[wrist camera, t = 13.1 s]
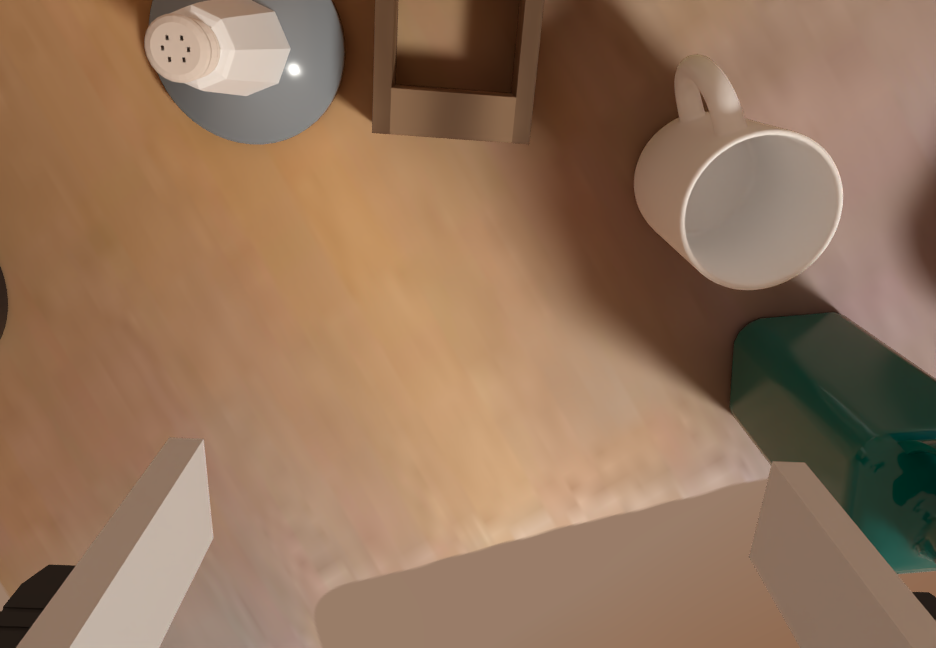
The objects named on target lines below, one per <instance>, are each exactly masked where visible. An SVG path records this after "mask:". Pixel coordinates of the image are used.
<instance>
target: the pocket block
mask: <svg viewBox="0 0 936 648" xmlns="http://www.w3.org/2000/svg"><path fill="white" fill-rule="evenodd" d="M543 8H544V0H520V1H519V12H518V23H517V34H516V44H515V55H514V66H513V77H512V88H511V93H502V92H489V91H476V90H463V89H450V88H437V87H424V86H411V85H398V84H395V83H396V54H397V25H398V0H375V31H374V74H373V116H372V133H381V134H394V135H408V136H422V137H436V138H449V139H463V140H477V141H490V142H504V143H518V144H529V142H530V132H531V122H532V113H533V103H534V94H535V84H536V75H537V65H538V56H539V46H540V36H541V27H542V17H543Z"/></svg>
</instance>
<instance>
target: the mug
mask: <svg viewBox="0 0 936 648" xmlns="http://www.w3.org/2000/svg"><path fill="white" fill-rule="evenodd" d="M674 90H675V98H676V104H677V110H678V115H679V118H677V119H675V120H673V121H671V122H670V123H668V124H666V125H665V126H664V127H662V128H661V129H660V130H659V131H658V132H657V133H656V134H655V135H654V136H653V137H652V138H651V139H650V140H649V142H648V143H647V144H646V146H645V148H644V149H643V151H642V153H641V155H640V157H639V160H638V163H637V166H636V170H635V175H634V193H635V198H636V202H637V205H638V208H639V210H640V212H641V214H642V216H643V217H644V219H645V220H646V221H647V223H648V224H649V225H650V226H651V227H652V228H653V230H654V231H655V232H656V233H658V234H659V235H660V236H661V237H662V238H663V239H664V240H665V241H666V242H667V243H668V244H669V245H671V246H672V247H673V248H674V249H675V250H676V251H677V252H678V253H679V254H680V255H681V256H683V257H684V258H685V259H686V260H687V261H688V262H689V263H690V264H691V265H692V266H693V267H694V268H696V269H697V270H698V271H699V272H700V273H701V274H702V275H704V276H705V277H706V278H708V279H709V280H711V281H713V282H715V283H716V284H719V285H721V286H724V287H728V288H732V289H738V290H758V289H765V288H769V287H773V286H776V285H779V284H781V283H784V282H786V281H788V280H790V279H792V278H794V277H796V276H797V275H799V274H800V273H801V272H803V271H804V270H806V269H807V268H808V267H809V266H810V265H812V264H813V263H814V262H815V261H816V259H817V258H818V257H819V256H820V255H821V254H822V253H823V251H824V250H825V249H826V247H827V246H828V244H829V243H830V241H831V239H832V238H833V235H834V233H835V231H836V229H837V226H838V223H839V220H840V217H841V212H842V206H843V189H842V183H841V178H840V175H839V172H838V169H837V167H836V165H835V163H834V161H833V160H832V158H831V156H830V155H829V154H828V153H827V151H826V150H825V149H824V148H823V147H822V146H820V145H819V144H818V143H817V142H816V141H814V140H812V139H811V138H809V137H807V136H805V135H803V134H801V133H798V132H794V131H791V130H787V129H783V128H779V127H776V126H772V125H768V124H764V123H760V122H757V121H753V120H749V119H745V116H744V113H743V110H742V107H741V105H740V102H739V100H738V97H737V95H736V93H735V91H734V89H733V86H732V85H731V83H730V81H729V79H728V78H727V76H726V75H725V73H724V72H723V71H722V70H721V68H720V67H719V66H718V65H717V64H716V63H714V62H713V61H712V60H711V59H710V58H708V57H706V56H702V55H698V54H695V55H690V56H687V57H686V58H685V59H683V60H682V61H681V62H680V64H679V65H678V67H677V70H676V74H675V80H674ZM700 92H701V94H702V96H703V98H704V100H705V102H706V104H707V107H708V110H709V112H705V111H704V108H703V104H702V99H701V95H700Z"/></svg>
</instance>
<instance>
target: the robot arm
mask: <svg viewBox="0 0 936 648" xmlns="http://www.w3.org/2000/svg"><path fill="white" fill-rule="evenodd" d="M7 312H8V298H7V289H6V284H5V280H4V276H3V273H2V270H1V267H0V339H1V336H2V334H3V331H4V328H5V324H6V320H7ZM212 539H213V530H212V519H211V509H210V499H209V489H208V479H207V468H206V458H205V448H204V439H194V438H169V439H168V440H167V442H166V443H165V444H164V446H163V447H162V448H161V450H160V451H159V453H158V454H157V455H156V457H155V458H154V459H153V461H152V462H151V464H150V465H149V466H148V468H147V469H146V470H145V472H144V473H143V474H142V476H141V477H140V479H139V480H138V481H137V483H136V484H135V485H134V487H133V488H132V490H131V491H130V492H129V494H128V495H127V496H126V498H125V499H124V500H123V502H122V503H121V505H120V506H119V507H118V509H117V510H116V511H115V513H114V514H113V515H112V517H111V518H110V520H109V521H108V522H107V524H106V525H105V526H104V528H103V529H102V531H101V532H100V533H99V535H98V536H97V537H96V539H95V540H94V541H93V543H92V544H91V546H90V547H89V548H88V550H87V551H86V552H85V554H84V555H83V557H82V558H81V559H80V561H79V562H78V563H77V565H76V566H71V565H48V566H46V567H45V568H43V569H42V570H41V571H39V572H38V573H36V574H35V575H34V576H32V577H31V578H29V579H28V580H27V581H25V582H24V583H22V584H21V585H20V587H19V588H18V589H17V590H16V592H15V593H14V594H13V595H12V597H11V598H10V599H9V600H8V602H7V603H6V604H5V605H4V607H3V610H2V611H1V612H0V648H159V647H160V645H161V643H162V641H163V639H164V637H165V635H166V633H167V631H168V628H169V626H170V624H171V622H172V620H173V618H174V616H175V614H176V612H177V610H178V608H179V606H180V604H181V602H182V600H183V598H184V596H185V594H186V592H187V590H188V588H189V586H190V584H191V582H192V580H193V578H194V576H195V574H196V572H197V570H198V568H199V566H200V564H201V562H202V560H203V558H204V556H205V554H206V552H207V550H208V548H209V546H210V544H211V542H212ZM749 558H750V560H751V561H752V563H753V565H754V567H755V568H756V570H757V572H758V574H759V576H760V577H761V579H762V581H763V583H764V584H765V586H766V588H767V590H768V591H769V593H770V595H771V597H772V599H773V600H774V602H775V604H776V606H777V607H778V609H779V611H780V613H781V614H782V616H783V618H784V620H785V621H786V623H787V625H788V627H789V629H790V630H791V632H792V634H793V635H794V637H795V639H796V641H797V643H798V645H799V646H800V648H936V597H935V596H933V595H932V594H930V593H927V592H911V591H910V589H909V588H908V587H907V586H906V585H905V583H904V582H903V581H902V580H901V579H900V578H899V576H898V575H897V574H896V572H895V571H894V570H893V569H892V568H891V566H890V565H889V564H888V563H887V561H886V560H885V559H884V558H883V557H882V555H881V554H880V553H879V552H878V551H877V549H876V548H875V547H874V546H873V545H872V543H871V542H870V541H869V540H868V538H867V537H866V536H865V535H864V534H863V532H862V531H861V530H860V529H859V528H858V526H857V525H856V524H855V523H854V522H853V520H852V519H851V518H850V517H849V515H848V514H847V513H846V512H845V511H844V509H843V508H842V507H841V506H840V505H839V503H838V502H837V501H836V500H835V498H834V497H833V496H832V495H831V494H830V492H829V491H828V490H827V489H826V488H825V486H824V485H823V484H822V483H821V482H820V480H819V479H818V478H817V477H816V475H815V474H814V473H813V472H812V471H811V469H810V468H809V467H808V466H807V465H806V463H803V462H777V461H772V465H771V469H770V473H769V477H768V482H767V486H766V490H765V494H764V498H763V502H762V506H761V510H760V514H759V518H758V522H757V526H756V530H755V534H754V538H753V542H752V546H751V550H750V554H749Z"/></svg>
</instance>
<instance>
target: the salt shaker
mask: <svg viewBox="0 0 936 648" xmlns="http://www.w3.org/2000/svg"><path fill="white" fill-rule="evenodd" d="M144 48H145V52H146V56H147V58H148V60H149V62H150V64H151V66H152V67H153V68H154V69H155V70H156V72H157V73H159V74H160V75H161V76H163V77H164V78H166V79H168V80H170V81H172V82H178V83H185V84H187V85H189V86H192V87H194V88H196V89H199V90H202V91H207V92H216V93H224V94H232V95H241V96H248V95H251V94H253V93H256V92H258V91H261V90H263V89H266V88H268V87H271V86H273V85H276V84H278V83H279V81H280V78H281V75H282V72H283V69H284V67H285V64H286V61H287V58H288V55H289V52H290V49H291V48H290V46H289V44H288V41H287V39H286V37H285V34H284V32H283V30H282V27H281V25H280V23H279V20H278V18H277V16H276V13H275V11H273V10H271V9H269V8H266V7H264V6H262V5H260V4H258V3H256V2H254V1H252V0H208V1H203V2H198V3H195V4H192V5H189V6H186V7H184V8H181V9H179V10H177V11H174V12H172V13H169V14H164V15H162V16H159V17H157V18H156V19H155V20H154V21H153V22H151V24H150V25H149V27H148V29H147V31H146V34H145V38H144Z"/></svg>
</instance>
